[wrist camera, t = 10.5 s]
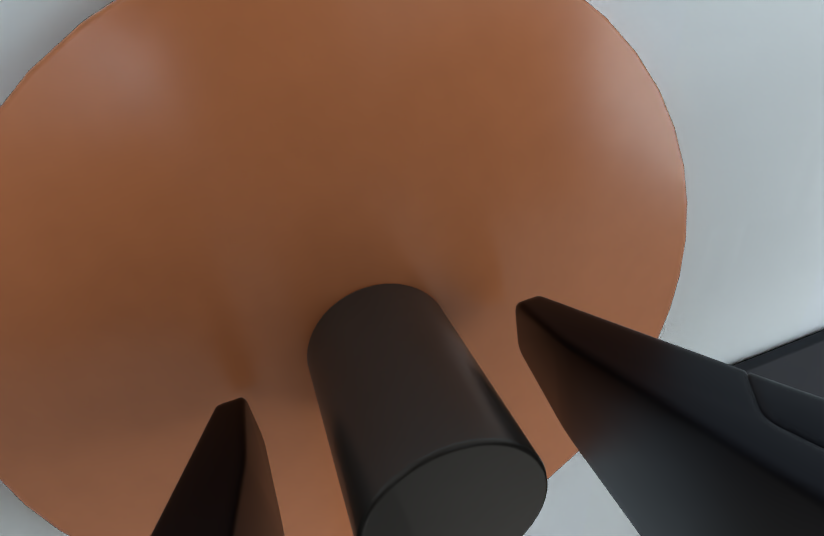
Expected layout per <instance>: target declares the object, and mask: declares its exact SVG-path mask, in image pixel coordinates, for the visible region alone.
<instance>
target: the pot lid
mask: <svg viewBox="0 0 824 536" xmlns="http://www.w3.org/2000/svg"><path fill="white" fill-rule="evenodd" d="M686 218H687V196H686V185H685V175H684V165H683V161H682V157H681V152H680V148H679V144H678V140H677V136H676V132H675V127H674V125H673V123H672V120H671V118H670V115H669V113H668V110H667V108H666V106H665V103H664V101H663V98H662V96H661V93H660V91H659V89H658V87H657V86H656V84H655V82H654V81H653V79H652V77H651V76H650V74H649V73H648V71H647V69H646V68H645V66H644V64H643V63H642V61H641V60H640V58H639V56H638V55H637V53H636V52H635V50H634V49H633V48H632V47H631V46H630V45H629V43H628V42H627V41H626V40H625V39H624V38H623V37H622V35H621V34H620V33H619V32H618V31H617V30H616V28H615V27H614V26H613V25H612V24H611V23H610V22H609V20H608V19H607V18H606V17H605V16H604V15H602V14H601V13H600V12H599V11H598V10H596V9H595V8H594V7H593V6H591V5H590V4H589V3H588V2H587V1H585V0H114V1H112V2H111V3H109V4H108V5H106V6H105V7H103V8H102V9H100V10H99V11H97V12H96V13H94V14H93V15H91V16H89V17H88V18H86V19H85V20H84V21H83V22H81V23H80V24H79V25H78V26H77V27H76V28H75V29H74V30H73V31H72V32H70V33H69V34H68V35H67V36H66V37H65V38H64V39H63V40H62V41H61V42H60V43H58V44H57V45H56V46H55V47H54V48H53V49H52V50H51V51H50V52H49V53H48V54H46V55H45V56H44V57H43V58H42V59H41V60H40V61H39V62H38V63H37V64H35V65H34V66H33V67H32V68H31V69H30V70H29V71H28V72H27V73H26V75H25V76H24V77H23V79H22V80H21V81H20V82H19V84H18V85H17V86H16V88H15V89H14V90H13V91H12V93H11V94H10V95H9V96H8V98H7V99H6V100H5V102H4V103H3V104H2V105H1V107H0V480H1V481H2V482H3V483H4V484H5V485H6V486H7V487H8V488H9V489H10V490H11V491H12V492H13V493H14V494H15V495H16V496H17V497H18V498H19V499H20V500H21V501H22V502H23V503H24V504H25V505H26V506H27V507H29V508H30V509H31V510H33V511H34V512H35V513H37V514H38V515H39V516H41V517H42V518H43V519H45V520H46V521H47V522H49V523H50V524H52V525H53V526H54V527H56V528H57V529H58V530H60V531H61V532H63V533H65V534H67V535H69V536H151V534H152V532H153V530H154V528H155V526H156V524H157V522H158V520H159V518H160V516H161V514H162V512H163V510H164V508H165V506H166V504H167V502H168V500H169V498H170V496H171V495H172V493H173V491H174V489H175V487H176V485H177V483H178V481H179V479H180V477H181V475H182V473H183V471H184V469H185V467H186V465H187V463H188V461H189V459H190V457H191V455H192V453H193V451H194V449H195V447H196V445H197V443H198V441H199V439H200V437H201V435H202V433H203V431H204V429H205V427H206V425H207V423H208V421H209V420H210V418H211V416H212V414H213V412H214V410H215V408H216V407H217V406H218V405H220V404H222V403H225V402H228V401H231V400H234V399H237V398H241V397H242V398H244V399H245V400H246V401H247V402H248V404H249V407H250V409H251V411H252V413H253V416H254V418H255V420H256V422H257V425H258V427H259V429H260V432H261V434H262V437H263V439H264V443H265V446H266V451H267V455H268V460H269V464H270V469H271V474H272V478H273V483H274V487H275V492H276V497H277V501H278V506H279V510H280V515H281V520H282V524H283V530H284V535H285V536H523V535H524V534H525V533H526V531H527V530H528V529H529V528H530V526H531V525H532V524H533V522H534V521H535V519H536V518H537V516H538V514H539V512H540V511H541V509H542V506H543V504H544V501H545V498H546V493H547V479H548V478H549V477H551V476H552V475H553V474H554V473H555V472H556V471H557V470H558V469H559V468H561V467H562V466H563V465H564V464H565V463H566V462H567V461H568V460H569V459H571V458H572V457H573V456H574V455H575V454H576V453H577V452H578V451H579V450H578V449H577V447H576V446H575V444H574V443H573V442H572V440H571V439H570V437H569V436H568V434H567V433H566V431H565V430H564V428H563V427H562V425H561V423H560V422H559V420H558V418H557V416H556V415H555V413H554V411H553V409H552V408H551V406H550V404H549V402H548V400H547V399H546V397H545V395H544V393H543V391H542V390H541V388H540V386H539V384H538V383H537V381H536V379H535V377H534V375H533V374H532V372H531V370H530V368H529V367H528V365H527V363H526V361H525V359H524V358H523V356H522V354H521V351H520V348H519V345H518V338H517V326H516V314H515V309H516V305H517V304H518V303H519V302H521V301H524V300H527V299H530V298H533V297H536V296H542V297H545V298H548V299H551V300H553V301H556V302H559V303H562V304H564V305H567V306H570V307H572V308H575V309H578V310H581V311H583V312H586V313H589V314H592V315H594V316H597V317H600V318H603V319H605V320H608V321H611V322H613V323H616V324H619V325H622V326H624V327H627V328H630V329H633V330H635V331H638V332H641V333H644V334H646V335H649V336H652V337H654V338H657V339H658V337H659V334H660V332H661V329H662V327H663V325H664V322H665V320H666V317H667V315H668V312H669V310H670V307H671V303H672V300H673V296H674V293H675V289H676V286H677V283H678V279H679V276H680V270H681V264H682V258H683V252H684V246H685V240H686Z"/></svg>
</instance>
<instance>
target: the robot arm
mask: <svg viewBox="0 0 824 536" xmlns="http://www.w3.org/2000/svg"><path fill="white" fill-rule="evenodd" d="M515 314H516V326H517V338H518V345H519V348H520V351H521V354H522V356H523V358H524V359H525V361H526V363H527V365H528V367H529V368H530V370H531V372H532V374H533V375H534V377H535V379H536V381H537V383H538V384H539V386H540V388H541V390H542V391H543V393H544V395H545V397H546V399H547V400H548V402H549V404H550V406H551V408H552V409H553V411H554V413H555V415H556V416H557V418H558V420H559V422H560V423H561V425H562V427H563V428H564V430H565V431H566V433H567V434H568V436H569V437H570V439H571V440H572V442H573V443H574V444H575V446H576V447H577V449H578V450H579V451H580V453H581V454H582V456H583V457H584V458H585V460H586V461H587V462H588V464H589V465H590V467H591V468H592V469H593V471H594V472H595V473H596V475H597V476H598V478H599V479H600V480H601V482H602V483H603V485H604V486H605V487H606V489H607V490H608V491H609V493H610V494H611V496H612V497H613V498H614V500H615V501H616V502H617V504H618V505H619V507H620V508H621V509H622V511H623V512H624V514H625V515H626V516H627V518H628V519H629V520H630V522H631V523H632V525H633V526H634V527H635V529H636V530H637V531H638V533H639V534H640V536H824V398H822V397H818V396H815V395H813V394H810V393H807V392H804V391H801V390H798V389H795V388H792V387H789V386H787V385H784V384H781V383H778V382H775V381H772V380H770V379H767V378H764V377H761V376H759V375H756V374H753V373H749V374H747V373H746V371H744V370H742V369H739V368H736V367H734V366H731V365H728V364H725V363H723V362H720V361H717V360H715V359H712V358H709V357H706V356H704V355H701V354H698V353H695V352H693V351H690V350H687V349H684V348H682V347H679V346H676V345H674V344H671V343H668V342H665V341H663V340H660V339H657V338H654V337H652V336H649V335H646V334H644V333H641V332H638V331H635V330H633V329H630V328H627V327H624V326H622V325H619V324H616V323H613V322H611V321H608V320H605V319H603V318H600V317H597V316H594V315H592V314H589V313H586V312H583V311H581V310H578V309H575V308H572V307H570V306H567V305H564V304H562V303H559V302H556V301H553V300H551V299H548V298H545V297H542V296H536V297H533V298H530V299H527V300H524V301H521V302H519V303H518V304H517V305H516V309H515ZM151 536H285V535H284V530H283V524H282V520H281V515H280V510H279V506H278V501H277V497H276V492H275V487H274V483H273V478H272V474H271V469H270V464H269V460H268V455H267V451H266V446H265V443H264V439H263V437H262V434H261V432H260V429H259V427H258V425H257V422H256V420H255V418H254V416H253V413H252V411H251V409H250V407H249V404H248V402H247V401H246V400H245V399H244V398H242V397H241V398H237V399H234V400H231V401H228V402H225V403H222V404H220V405H218V406H217V407H216V408H215V410H214V412H213V414H212V416H211V418H210V420H209V421H208V423H207V425H206V427H205V429H204V431H203V433H202V435H201V437H200V439H199V441H198V443H197V445H196V447H195V449H194V451H193V453H192V455H191V457H190V459H189V461H188V463H187V465H186V467H185V469H184V471H183V473H182V475H181V477H180V479H179V481H178V483H177V485H176V487H175V489H174V491H173V493H172V495H171V496H170V498H169V500H168V502H167V504H166V506H165V508H164V510H163V512H162V514H161V516H160V518H159V520H158V522H157V524H156V526H155V528H154V530H153V532H152V534H151Z"/></svg>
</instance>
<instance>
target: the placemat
mask: <svg viewBox="0 0 824 536" xmlns="http://www.w3.org/2000/svg"><path fill="white" fill-rule="evenodd" d="M734 367H736V368H739V369H742V370H744V371H746V373H747V374H749V373H753V374H756V375H759V376H761V377H764V378H767V379H770V380H772V381H775V382H778V383H781V384H784V385H787V386H789V387H792V388H795V389H798V390H801V391H804V392H807V393H810V394H813V395H815V396H818V397H822V398H824V330H823V331H820V332H818V333H815V334H813V335H810V336H808V337H805V338H803V339H800V340H797V341H795V342H792V343H790V344H787V345H785V346H782V347H780V348H777V349H774V350H772V351H769V352H767V353H764V354H762V355H759V356H757V357H754V358H751V359H749V360H746V361H744V362H741V363H739V364H736V365H734Z"/></svg>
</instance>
